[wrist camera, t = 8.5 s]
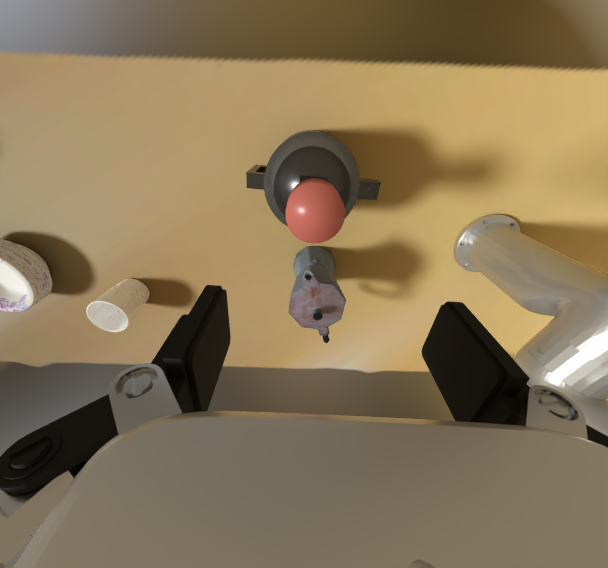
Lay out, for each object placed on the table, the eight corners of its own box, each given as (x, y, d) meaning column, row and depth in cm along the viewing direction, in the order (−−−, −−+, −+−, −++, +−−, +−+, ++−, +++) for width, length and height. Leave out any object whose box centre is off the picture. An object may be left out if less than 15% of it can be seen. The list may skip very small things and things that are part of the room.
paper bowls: (31, 300, 62) (-2, 322, 56) (-32, 246, 55) (-79, 263, 48) (79, 279, 59) (50, 299, 53) (18, 219, 52) (-24, 233, 45)
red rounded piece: (336, 169, 32) (349, 186, 23) (330, 214, 35) (340, 245, 26) (291, 165, 32) (286, 181, 23) (289, 211, 35) (284, 241, 26)
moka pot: (326, 226, 53) (337, 275, 36) (344, 287, 60) (361, 351, 43) (282, 240, 54) (272, 293, 37) (305, 298, 62) (306, 363, 45)
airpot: (369, 135, 44) (420, 144, 25) (355, 211, 51) (387, 265, 32) (259, 125, 44) (223, 125, 24) (260, 203, 50) (232, 253, 31)
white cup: (112, 275, 59) (79, 300, 50) (147, 276, 59) (120, 301, 50) (123, 303, 63) (95, 331, 54) (156, 304, 63) (133, 332, 55)
